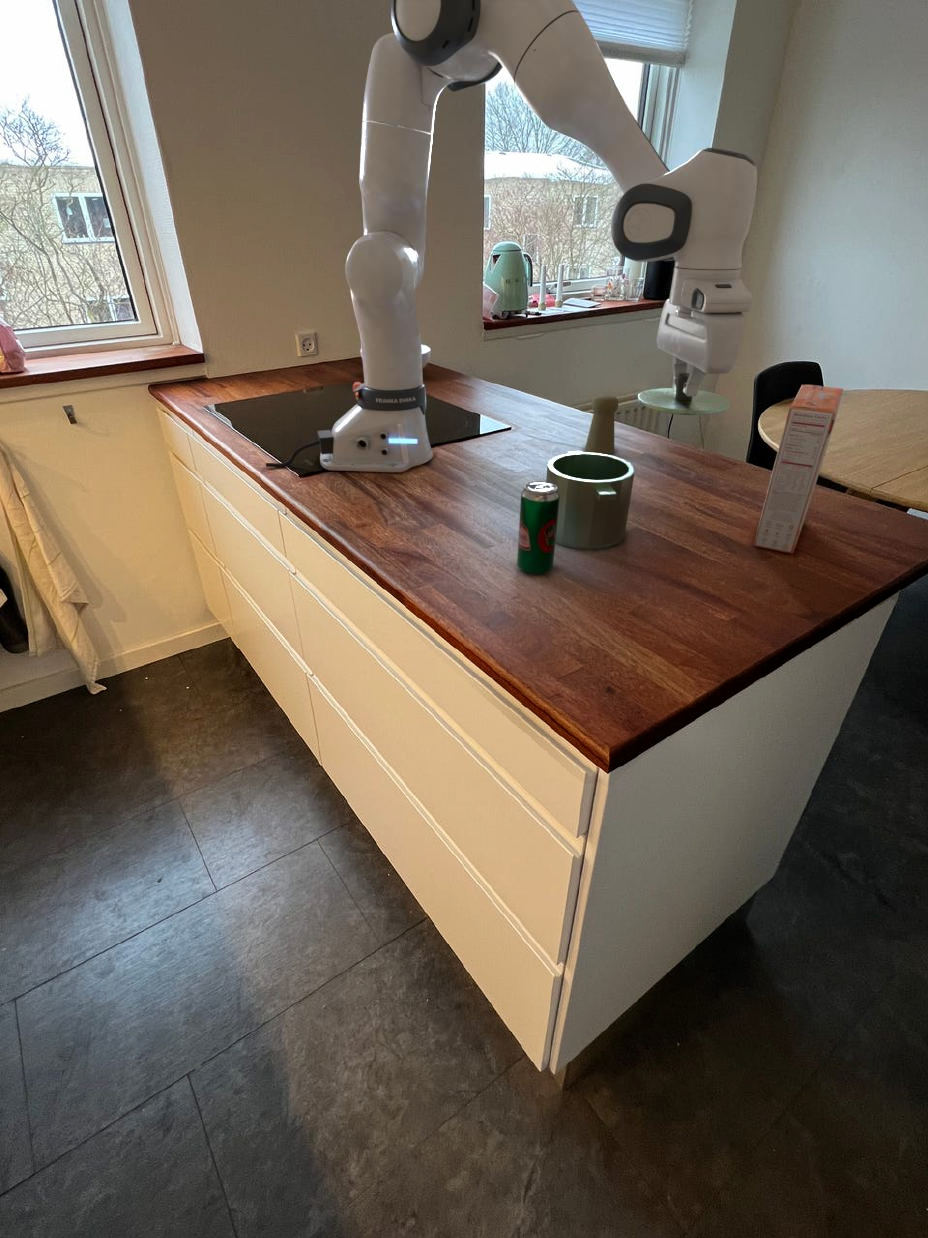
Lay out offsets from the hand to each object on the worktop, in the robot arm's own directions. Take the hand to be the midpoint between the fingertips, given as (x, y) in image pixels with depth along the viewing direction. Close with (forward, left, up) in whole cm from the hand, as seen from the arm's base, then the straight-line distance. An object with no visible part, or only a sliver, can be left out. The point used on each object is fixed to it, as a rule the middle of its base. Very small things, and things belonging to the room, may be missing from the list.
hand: (684, 391), depth 97 cm
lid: (0, 0, -2) cm, 2 cm away
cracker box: (+14, -12, -19) cm, 26 cm away
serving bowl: (-42, +106, -19) cm, 116 cm away
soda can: (-26, -19, -19) cm, 37 cm away
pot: (-16, -8, -19) cm, 26 cm away
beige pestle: (-2, +30, -19) cm, 36 cm away
